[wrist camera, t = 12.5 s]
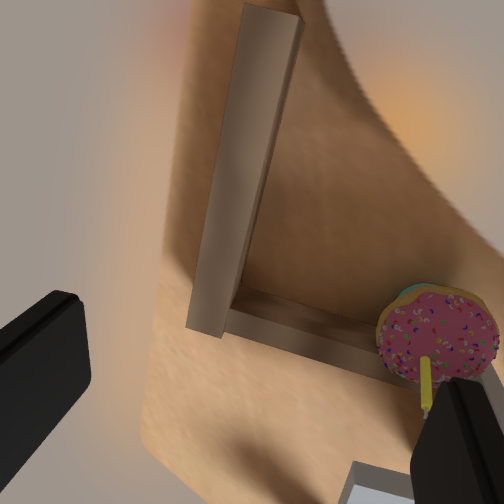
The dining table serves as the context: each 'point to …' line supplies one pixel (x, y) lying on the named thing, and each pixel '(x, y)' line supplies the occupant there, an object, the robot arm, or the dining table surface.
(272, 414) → the dining table surface
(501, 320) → the dining table surface
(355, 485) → the shelf
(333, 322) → the wooden corner bracket
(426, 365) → the cupcake
